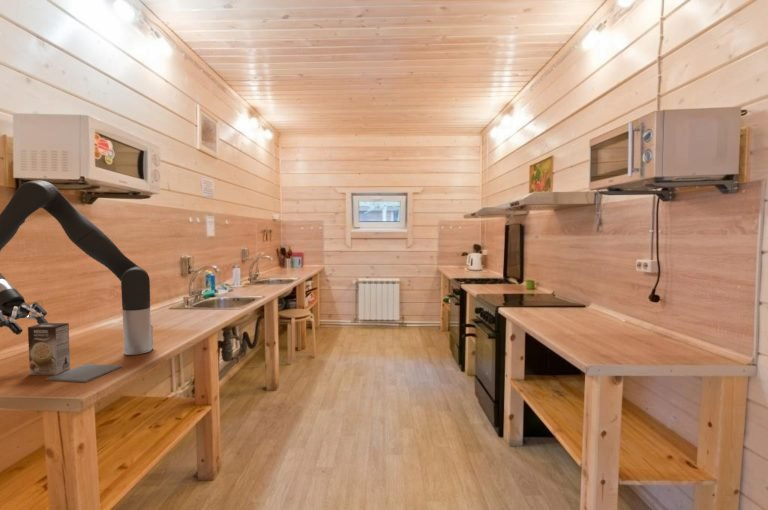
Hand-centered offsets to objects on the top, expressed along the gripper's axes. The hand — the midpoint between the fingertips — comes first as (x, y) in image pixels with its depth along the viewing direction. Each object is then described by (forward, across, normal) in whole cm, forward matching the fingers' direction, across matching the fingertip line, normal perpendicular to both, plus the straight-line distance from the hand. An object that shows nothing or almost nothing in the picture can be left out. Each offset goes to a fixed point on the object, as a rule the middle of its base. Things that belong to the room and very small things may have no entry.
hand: (33, 329), depth 132 cm
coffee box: (+14, 0, +6) cm, 16 cm away
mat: (+24, 0, -4) cm, 24 cm away
